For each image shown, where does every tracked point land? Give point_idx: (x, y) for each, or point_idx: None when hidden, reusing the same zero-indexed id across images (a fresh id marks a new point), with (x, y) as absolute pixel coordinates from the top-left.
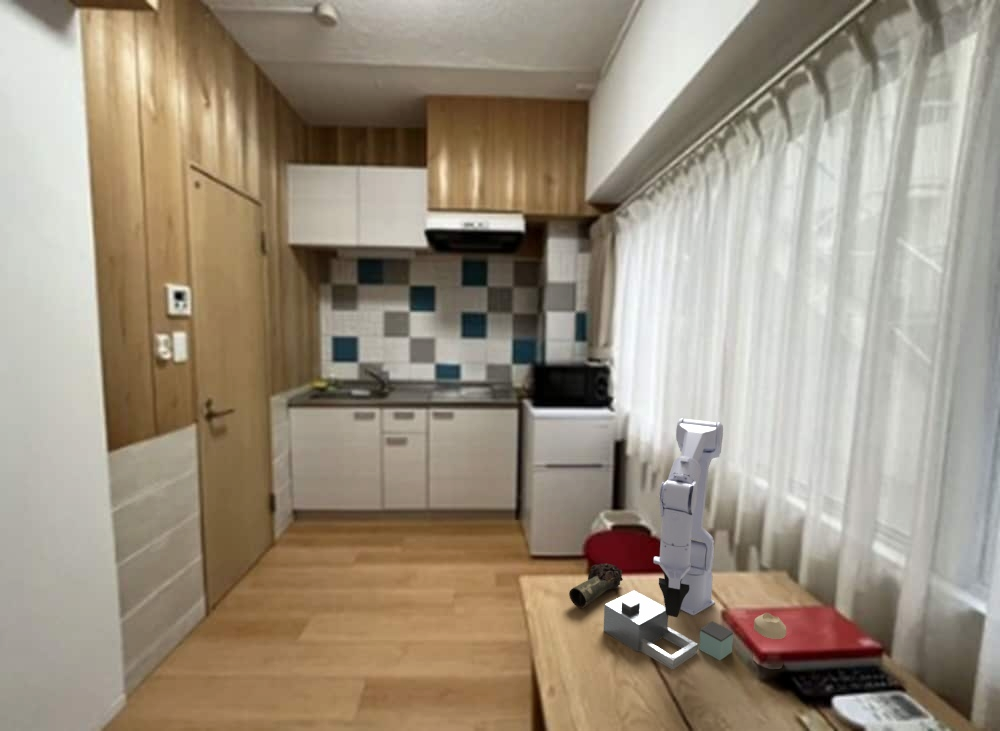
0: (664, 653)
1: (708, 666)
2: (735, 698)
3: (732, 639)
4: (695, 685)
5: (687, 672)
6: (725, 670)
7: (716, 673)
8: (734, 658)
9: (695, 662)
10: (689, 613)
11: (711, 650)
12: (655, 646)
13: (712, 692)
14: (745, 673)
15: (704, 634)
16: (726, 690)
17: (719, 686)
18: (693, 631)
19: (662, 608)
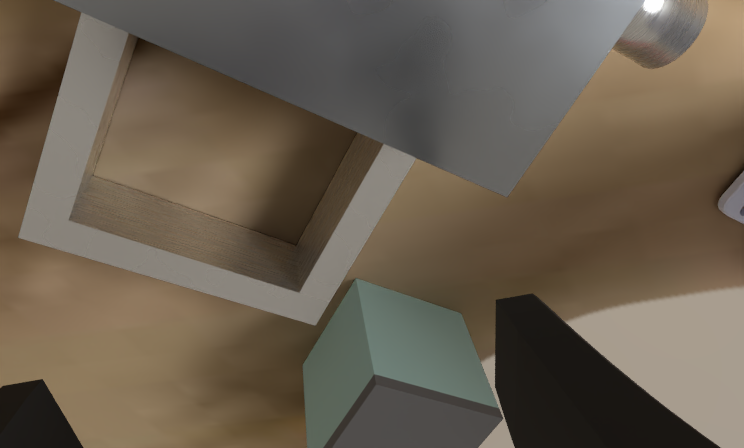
0: (51, 177)
1: (247, 330)
2: None
3: None
4: (32, 307)
5: None
6: (262, 388)
7: (211, 364)
8: None
9: None
10: (732, 187)
11: (328, 364)
12: (93, 101)
13: (42, 371)
14: (290, 443)
15: (358, 387)
16: (107, 409)
17: (115, 386)
18: (549, 226)
19: (489, 148)
